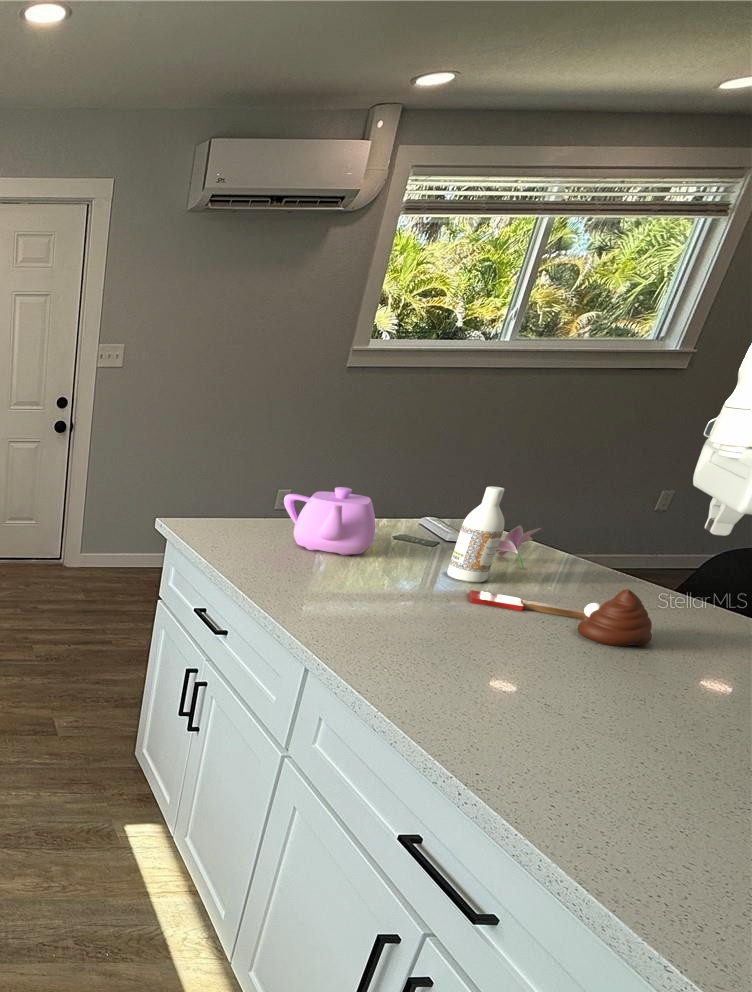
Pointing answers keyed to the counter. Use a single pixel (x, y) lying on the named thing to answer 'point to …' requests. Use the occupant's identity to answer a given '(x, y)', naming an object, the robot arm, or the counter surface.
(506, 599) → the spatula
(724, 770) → the counter surface
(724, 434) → the robot arm
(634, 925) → the counter surface
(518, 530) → the lily
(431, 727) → the counter surface
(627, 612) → the poop emoji
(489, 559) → the bath foam
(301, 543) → the teapot
